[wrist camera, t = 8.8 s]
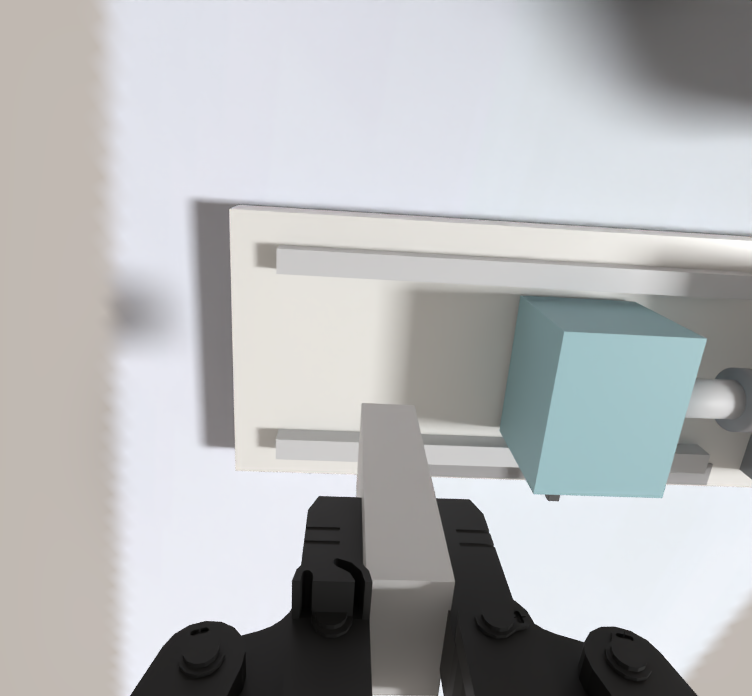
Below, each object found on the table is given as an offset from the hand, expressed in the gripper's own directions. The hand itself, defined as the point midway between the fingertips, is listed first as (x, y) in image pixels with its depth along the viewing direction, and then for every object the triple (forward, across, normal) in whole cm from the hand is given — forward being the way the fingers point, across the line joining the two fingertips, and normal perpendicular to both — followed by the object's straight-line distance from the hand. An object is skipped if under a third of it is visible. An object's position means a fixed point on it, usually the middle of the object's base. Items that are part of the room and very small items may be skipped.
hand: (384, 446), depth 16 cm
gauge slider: (+8, +11, -2) cm, 14 cm away
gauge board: (+11, +8, -1) cm, 13 cm away
